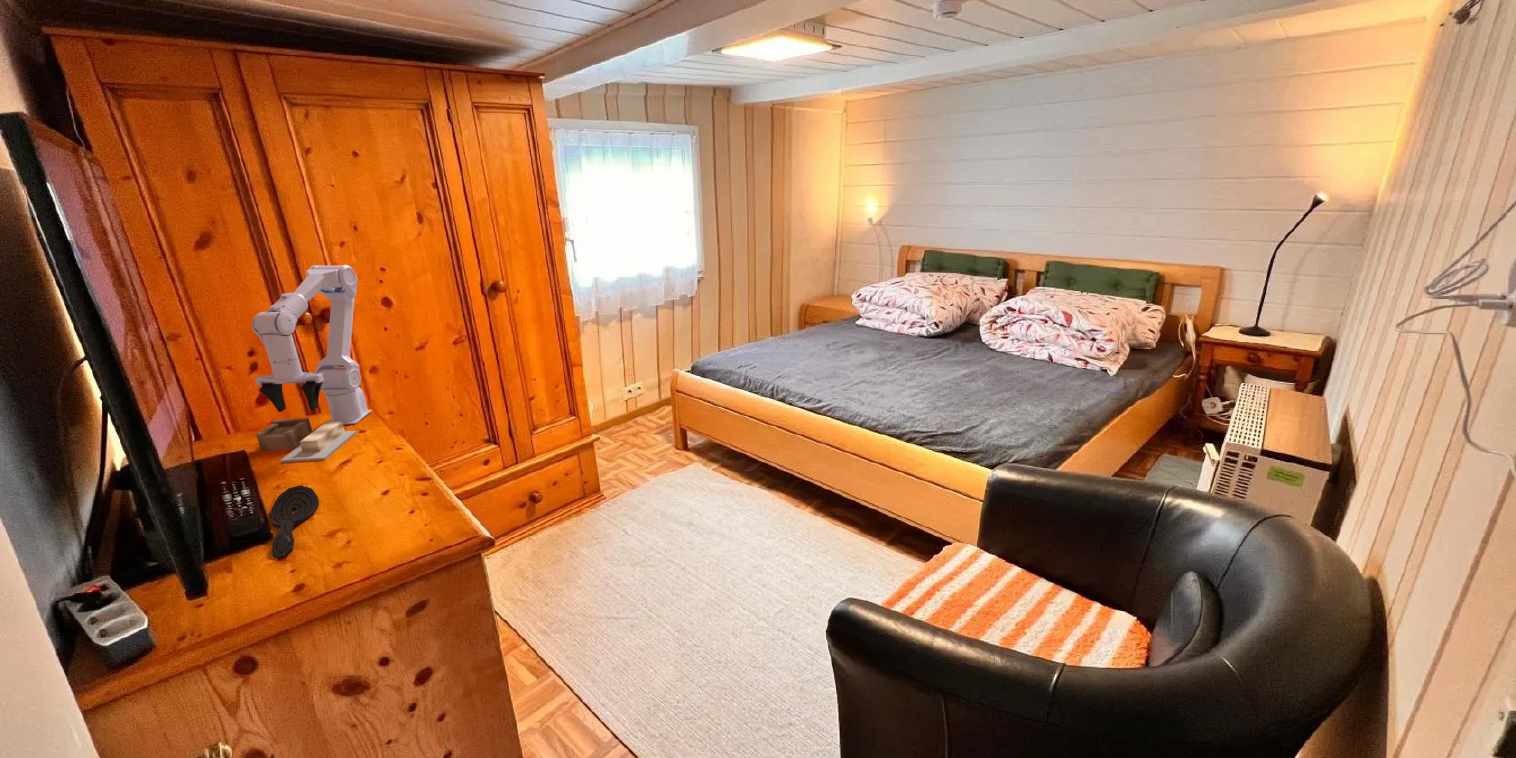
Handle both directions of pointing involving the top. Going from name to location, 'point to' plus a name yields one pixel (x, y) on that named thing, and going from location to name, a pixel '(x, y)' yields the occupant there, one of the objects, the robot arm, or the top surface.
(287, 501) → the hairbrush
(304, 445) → the bar
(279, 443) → the holder
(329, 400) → the robot arm
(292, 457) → the mat
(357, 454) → the top surface
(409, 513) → the top surface
